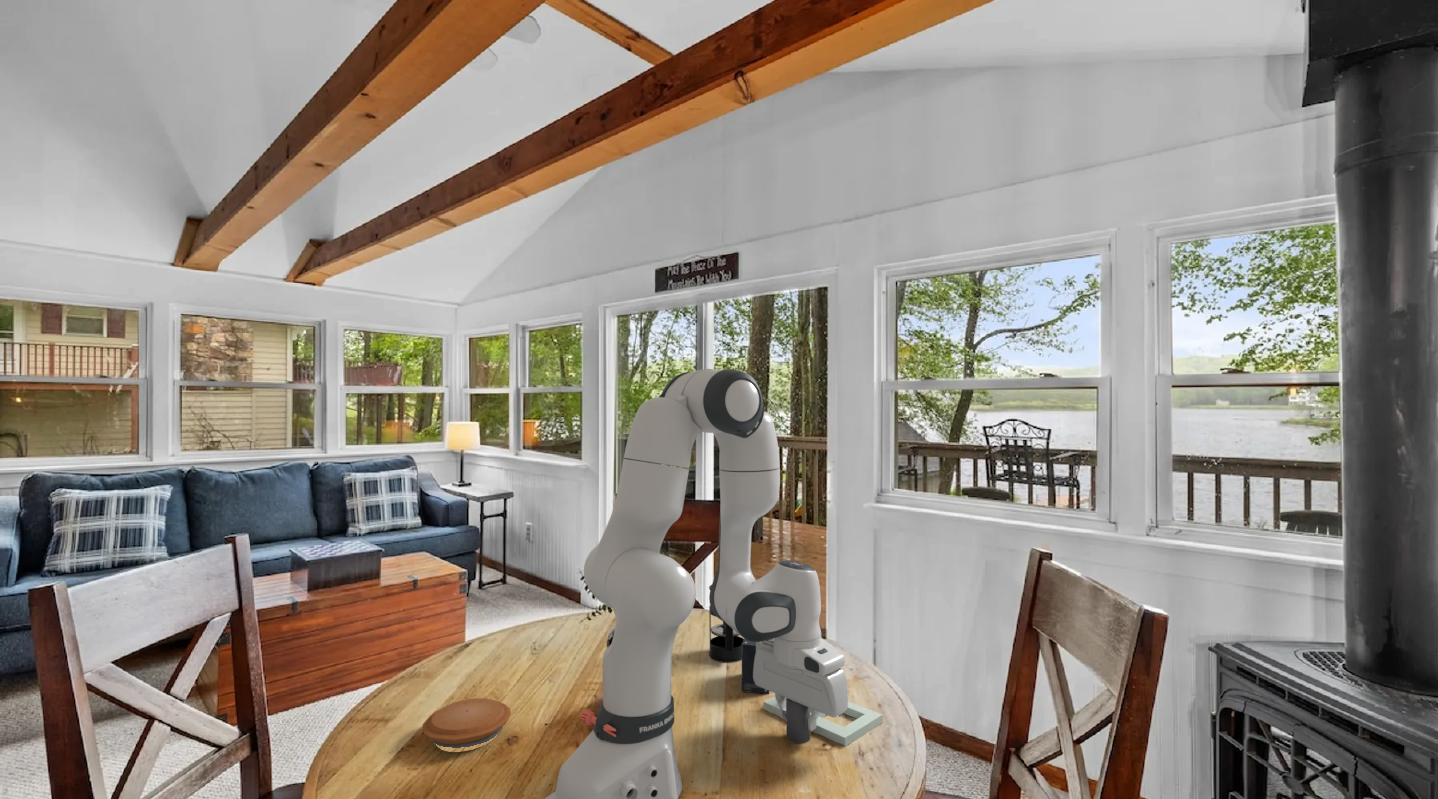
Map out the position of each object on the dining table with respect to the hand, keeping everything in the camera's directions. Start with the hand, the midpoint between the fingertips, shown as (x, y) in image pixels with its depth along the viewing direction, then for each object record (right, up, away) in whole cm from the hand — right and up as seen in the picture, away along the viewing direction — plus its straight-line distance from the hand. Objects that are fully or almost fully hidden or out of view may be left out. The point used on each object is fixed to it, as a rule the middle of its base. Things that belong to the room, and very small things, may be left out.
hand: (798, 723), depth 121 cm
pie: (-62, -4, +1) cm, 62 cm away
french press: (-13, -3, +39) cm, 41 cm away
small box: (-6, -3, +23) cm, 24 cm away
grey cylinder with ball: (0, -3, 0) cm, 3 cm away
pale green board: (+6, -3, +8) cm, 10 cm away
